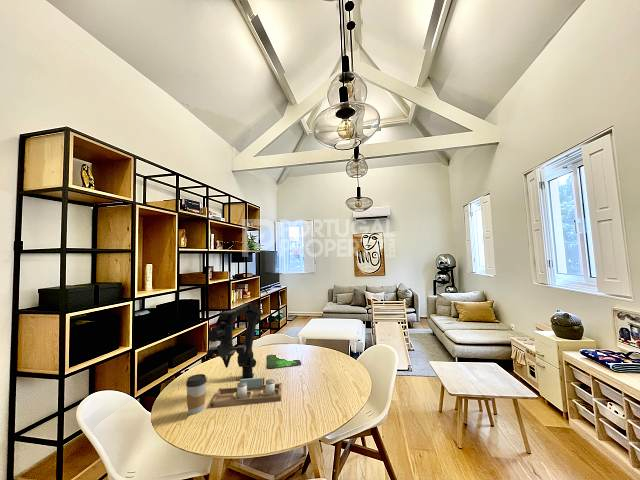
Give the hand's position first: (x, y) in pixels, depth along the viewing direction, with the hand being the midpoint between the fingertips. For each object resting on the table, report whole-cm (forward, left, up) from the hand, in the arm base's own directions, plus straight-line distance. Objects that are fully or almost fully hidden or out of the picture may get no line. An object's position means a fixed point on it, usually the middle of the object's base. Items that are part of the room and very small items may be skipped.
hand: (226, 367), depth 134 cm
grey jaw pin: (+11, +23, -11) cm, 27 cm away
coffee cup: (+18, -9, -12) cm, 24 cm away
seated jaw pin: (+11, +10, -11) cm, 18 cm away
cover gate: (+1, +13, -11) cm, 16 cm away
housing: (+9, +13, -12) cm, 19 cm away
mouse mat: (-40, +28, -13) cm, 50 cm away
